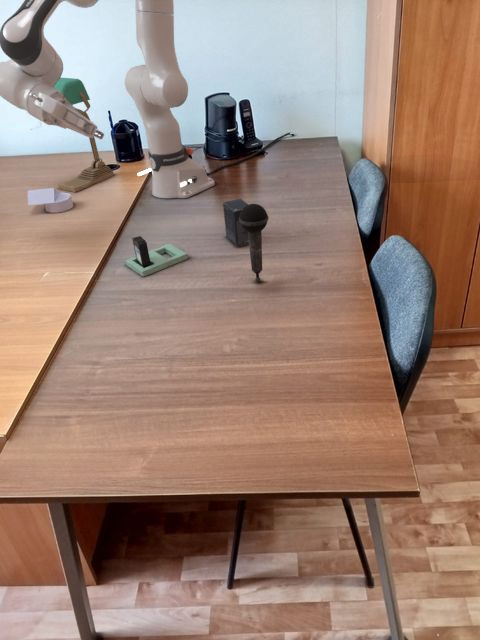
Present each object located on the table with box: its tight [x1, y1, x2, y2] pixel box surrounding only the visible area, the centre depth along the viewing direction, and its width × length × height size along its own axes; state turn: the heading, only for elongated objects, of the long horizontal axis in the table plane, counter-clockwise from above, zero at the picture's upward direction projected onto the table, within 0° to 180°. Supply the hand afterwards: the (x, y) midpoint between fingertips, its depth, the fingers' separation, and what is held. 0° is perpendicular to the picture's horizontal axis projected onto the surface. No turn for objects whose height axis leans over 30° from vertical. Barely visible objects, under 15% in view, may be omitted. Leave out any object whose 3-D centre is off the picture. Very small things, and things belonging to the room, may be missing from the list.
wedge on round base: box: [27, 187, 74, 214], centre depth 177 cm, size 9×7×13 cm
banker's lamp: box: [53, 76, 115, 193], centre depth 187 cm, size 16×21×35 cm
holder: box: [125, 243, 189, 277], centre depth 143 cm, size 14×9×2 cm, turn 130°
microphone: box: [239, 203, 269, 283], centre depth 126 cm, size 7×7×20 cm
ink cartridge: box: [131, 235, 151, 268], centre depth 139 cm, size 5×2×8 cm, turn 31°
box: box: [222, 198, 249, 248], centre depth 148 cm, size 8×6×11 cm
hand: (93, 131), depth 136 cm, fingers open, 8 cm apart
